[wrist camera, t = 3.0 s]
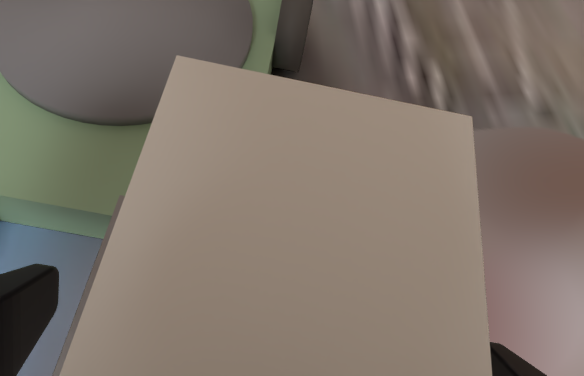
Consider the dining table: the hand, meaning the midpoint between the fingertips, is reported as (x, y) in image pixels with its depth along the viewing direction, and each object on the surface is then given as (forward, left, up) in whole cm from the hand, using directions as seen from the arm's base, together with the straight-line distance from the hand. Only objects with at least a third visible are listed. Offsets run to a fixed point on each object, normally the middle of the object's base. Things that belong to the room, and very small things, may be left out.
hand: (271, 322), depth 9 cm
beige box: (0, 0, -8) cm, 8 cm away
